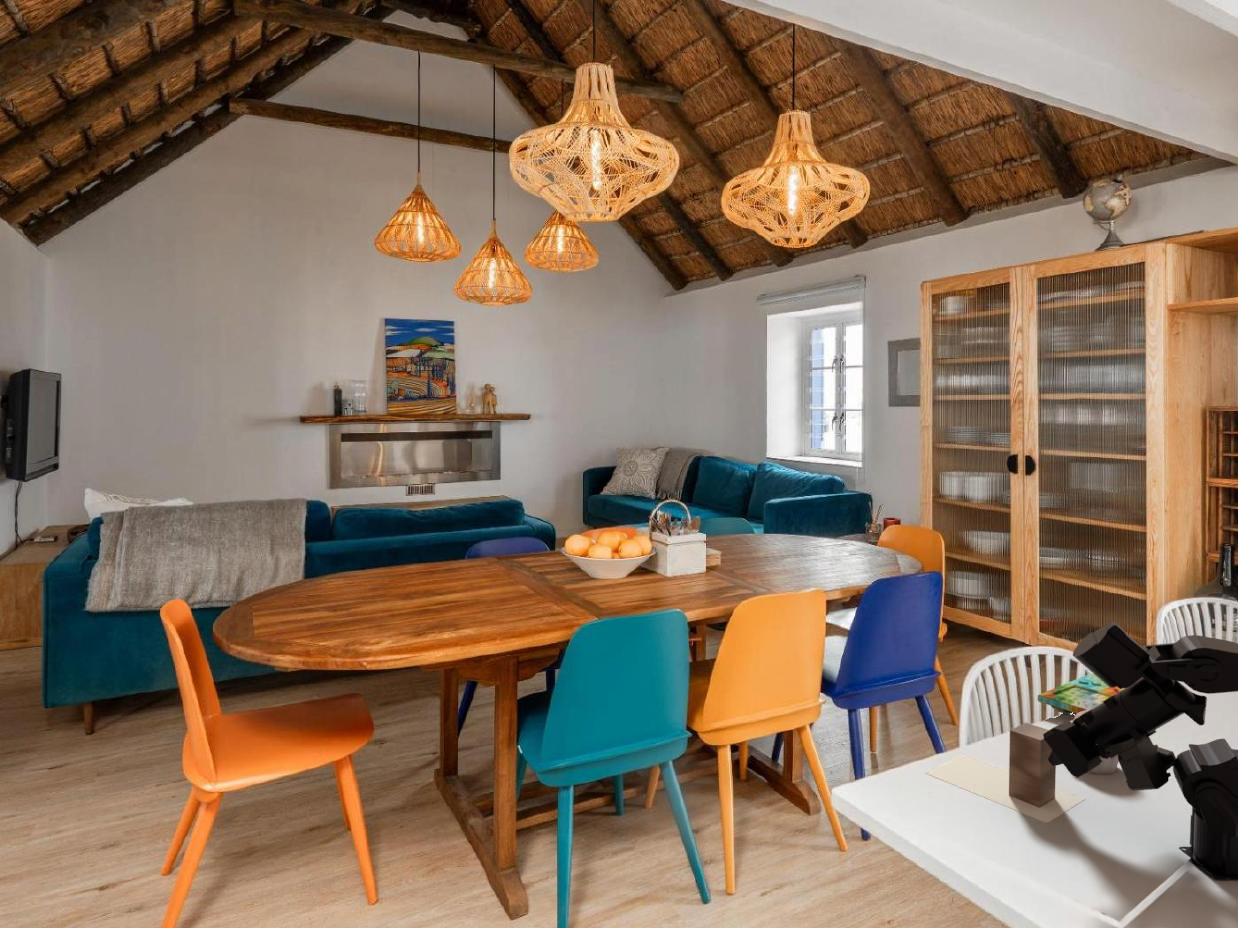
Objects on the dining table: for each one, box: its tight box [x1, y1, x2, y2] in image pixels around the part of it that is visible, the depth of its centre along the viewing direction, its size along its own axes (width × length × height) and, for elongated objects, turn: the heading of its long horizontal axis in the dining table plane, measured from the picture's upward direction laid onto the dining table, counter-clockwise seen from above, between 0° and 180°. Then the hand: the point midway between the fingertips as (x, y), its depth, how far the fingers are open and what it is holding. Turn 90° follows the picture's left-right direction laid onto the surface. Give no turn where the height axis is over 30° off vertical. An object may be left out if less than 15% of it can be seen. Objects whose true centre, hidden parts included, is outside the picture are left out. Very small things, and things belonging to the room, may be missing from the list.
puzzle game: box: [1037, 673, 1125, 715], centre depth 150 cm, size 12×5×20 cm
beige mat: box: [925, 753, 1086, 824], centre depth 120 cm, size 19×11×1 cm, turn 35°
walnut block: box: [1008, 722, 1057, 808], centre depth 116 cm, size 4×4×10 cm
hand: (1051, 762), depth 113 cm, fingers closed
